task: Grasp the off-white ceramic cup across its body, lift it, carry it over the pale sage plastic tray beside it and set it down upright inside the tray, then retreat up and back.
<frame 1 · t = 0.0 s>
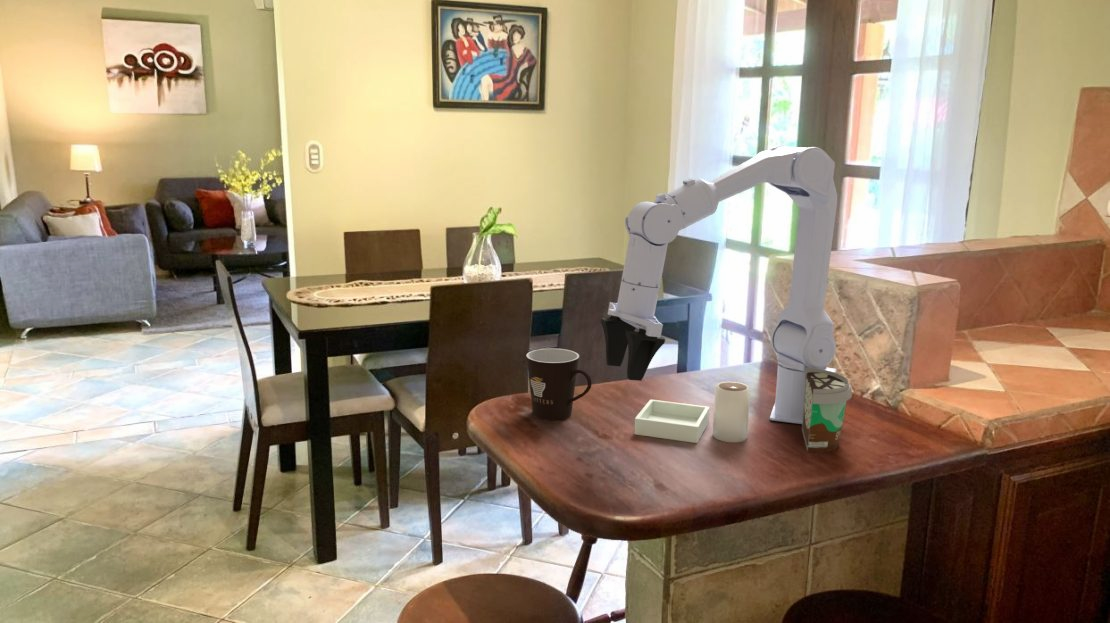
hand: (623, 372, 123), 11 cm above the breakfast bar, tool pointing down, fingers open, 7 cm apart
coffee mug: (555, 417, 134), on the breakfast bar
cup: (729, 436, 127), on the breakfast bar
food container: (825, 443, 125), on the breakfast bar
tray: (672, 428, 130), on the breakfast bar
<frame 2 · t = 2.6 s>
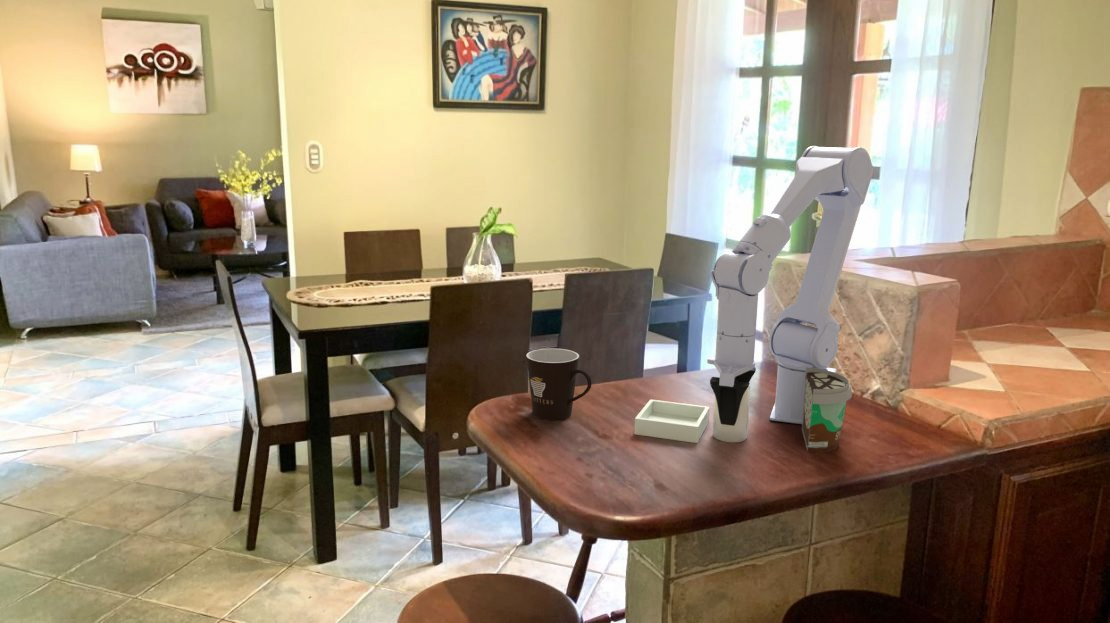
hand: (730, 418, 126), 3 cm above the breakfast bar, tool pointing down, fingers closed on cup, 5 cm apart
cup: (729, 436, 127), on the breakfast bar, touching gripper
everything else where it was.
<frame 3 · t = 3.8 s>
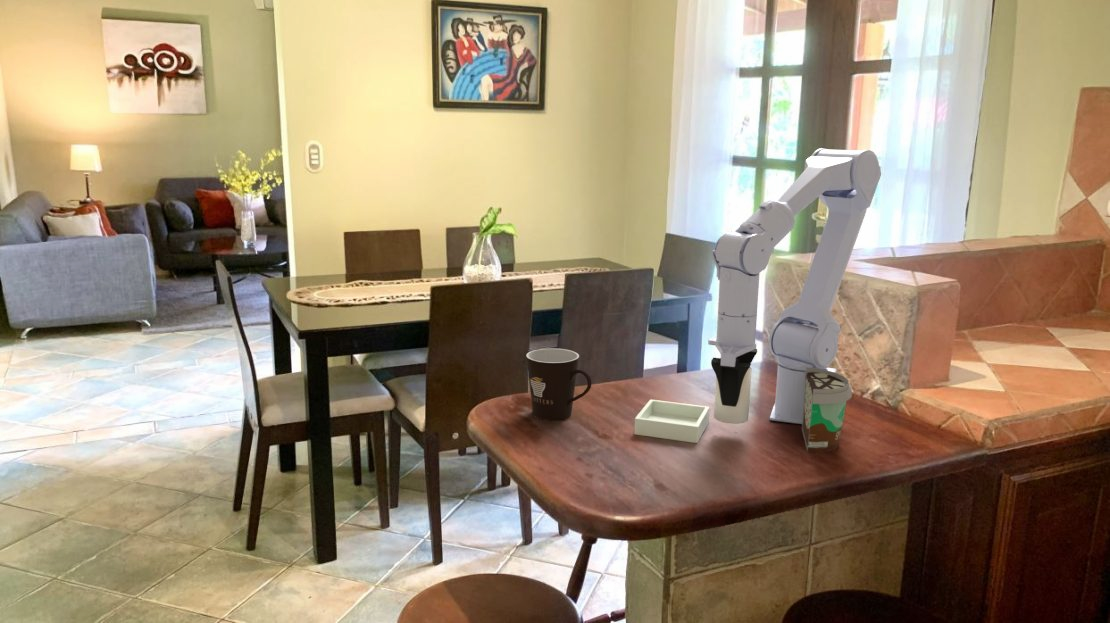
hand: (732, 399, 126), 6 cm above the breakfast bar, tool pointing down, fingers closed on cup, 5 cm apart
cup: (731, 417, 126), point 3 cm above the breakfast bar, touching gripper
everything else where it was.
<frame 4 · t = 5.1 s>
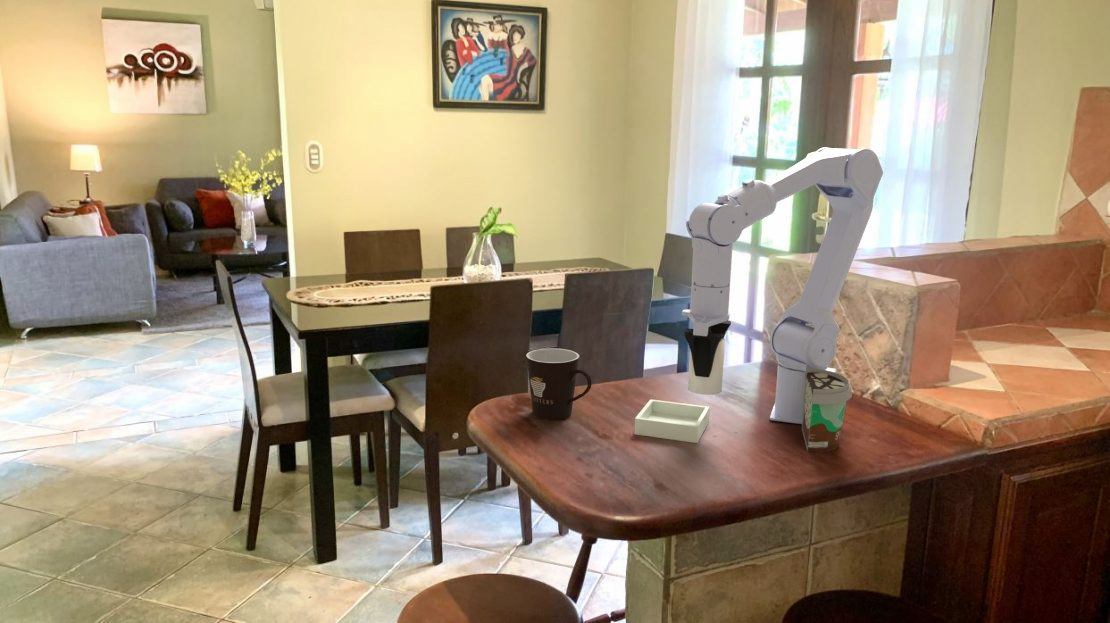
hand: (705, 371, 126), 10 cm above the breakfast bar, tool pointing down, fingers closed on cup, 5 cm apart
cup: (704, 389, 127), point 7 cm above the breakfast bar, touching gripper
everything else where it was.
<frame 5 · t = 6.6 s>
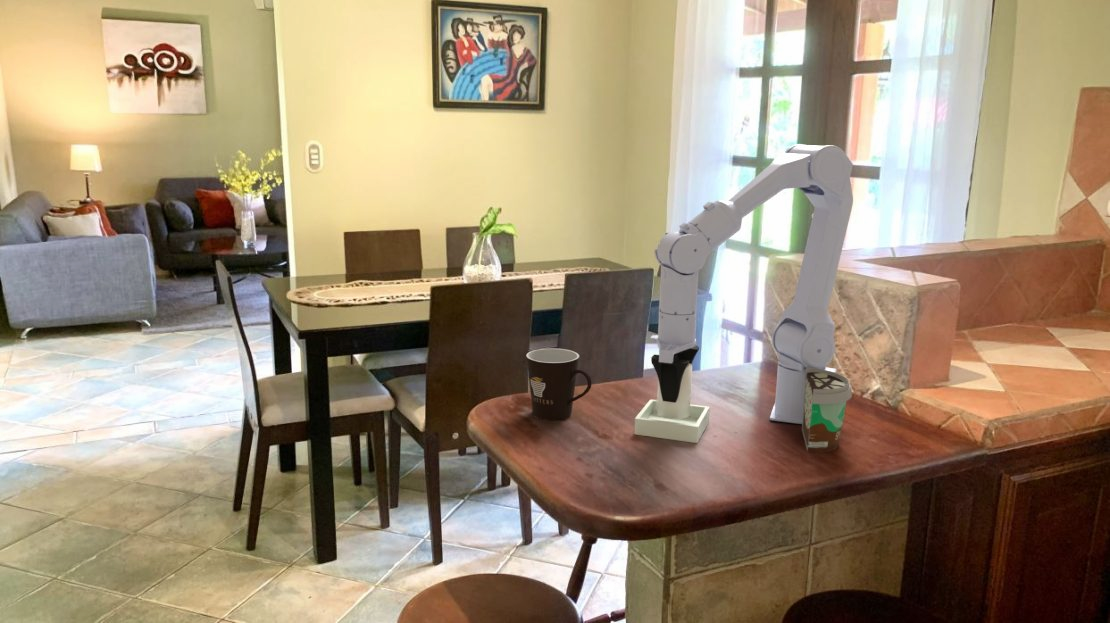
hand: (673, 395, 129), 5 cm above the breakfast bar, tool pointing down, fingers closed on cup, 5 cm apart
cup: (673, 413, 129), point 2 cm above the breakfast bar, touching gripper
everything else where it was.
when the fingers open (4 cm above the breakfast bar, at t = 7.7 s): cup stays where it is, resting on tray.
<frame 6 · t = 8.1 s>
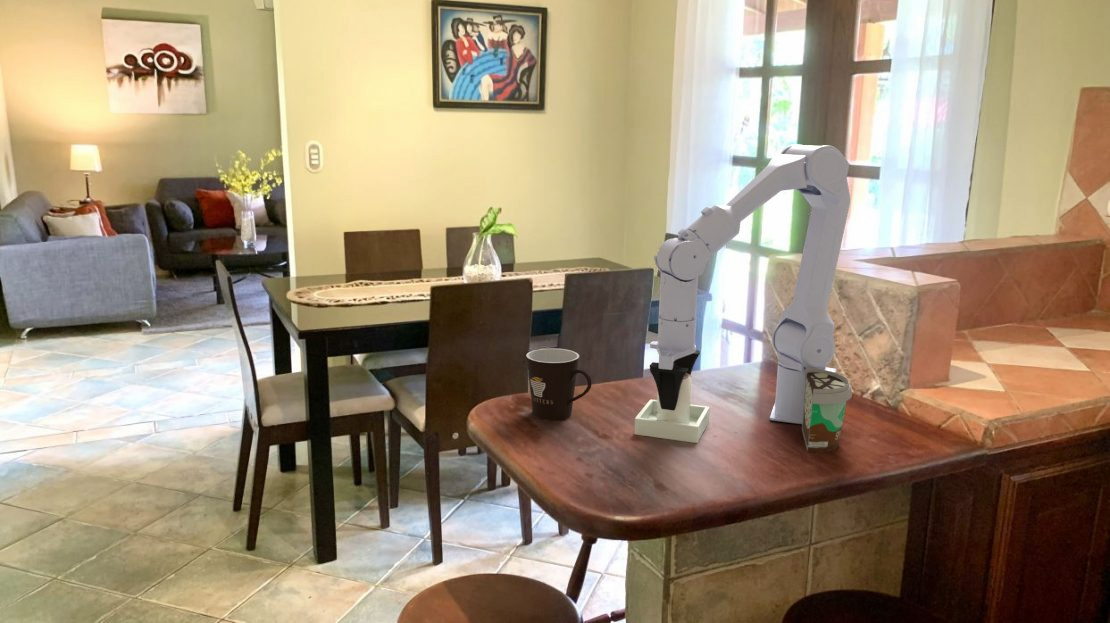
hand: (673, 401, 129), 4 cm above the breakfast bar, tool pointing down, fingers open, 7 cm apart
cup: (672, 424, 130), point 1 cm above the breakfast bar, touching tray
everything else where it was.
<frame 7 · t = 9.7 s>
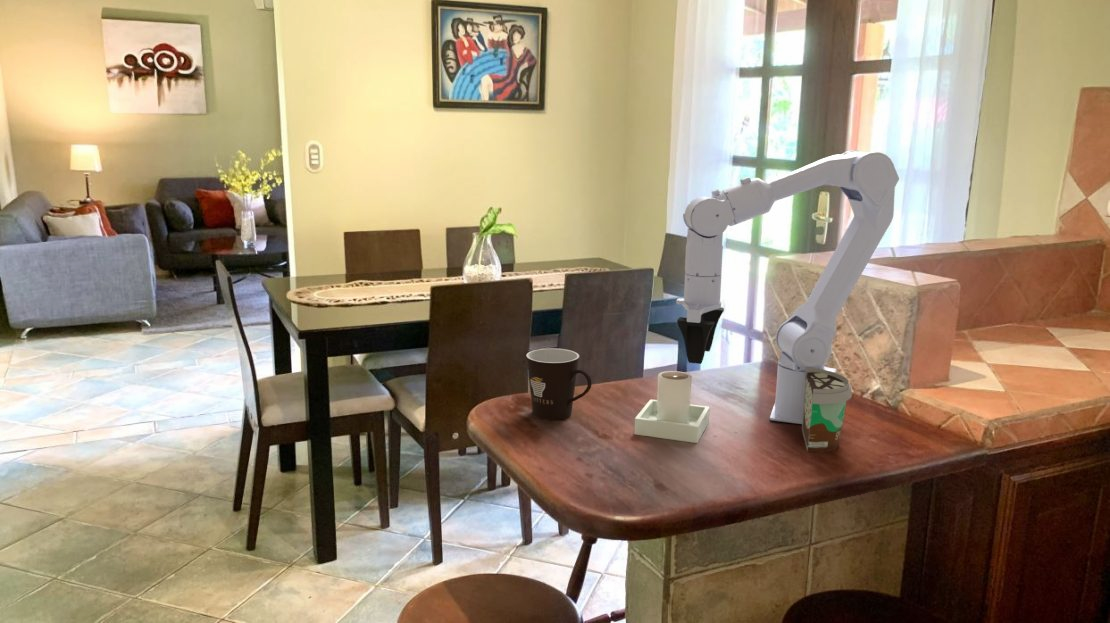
hand: (699, 356, 133), 10 cm above the breakfast bar, tool pointing down, fingers open, 7 cm apart
nothing on the breakfast bar moved.
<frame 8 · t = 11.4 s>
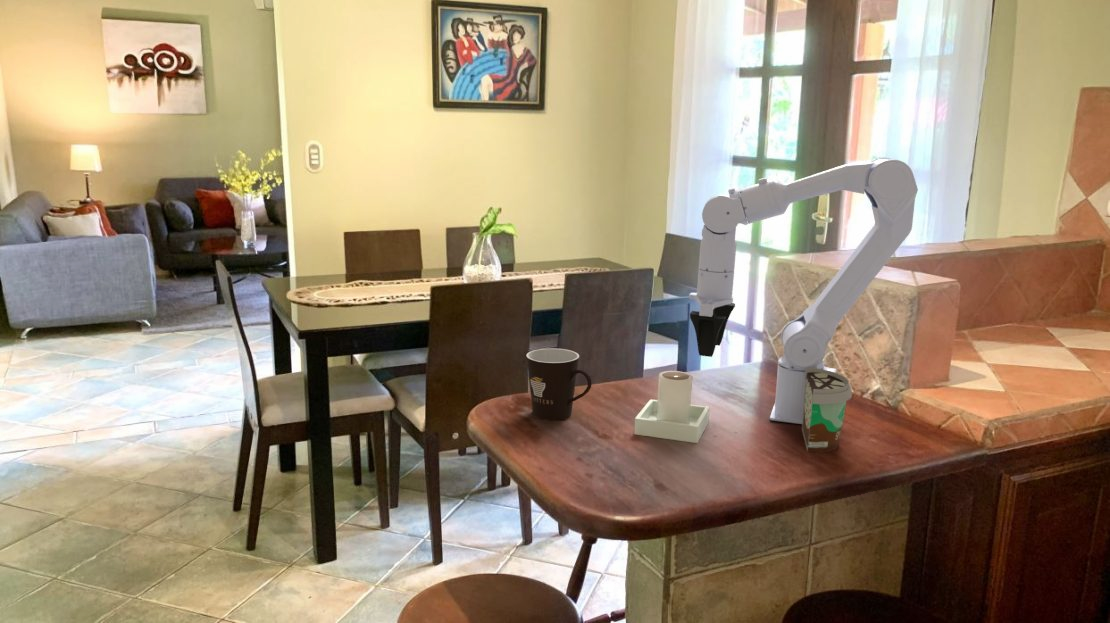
hand: (709, 350, 136), 10 cm above the breakfast bar, tool pointing down, fingers open, 7 cm apart
nothing on the breakfast bar moved.
at the end: cup 0.0 cm off-centre on the tray, point 0.6 cm above the tray's base; cup tilted 1°; the gripper is holding nothing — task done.
